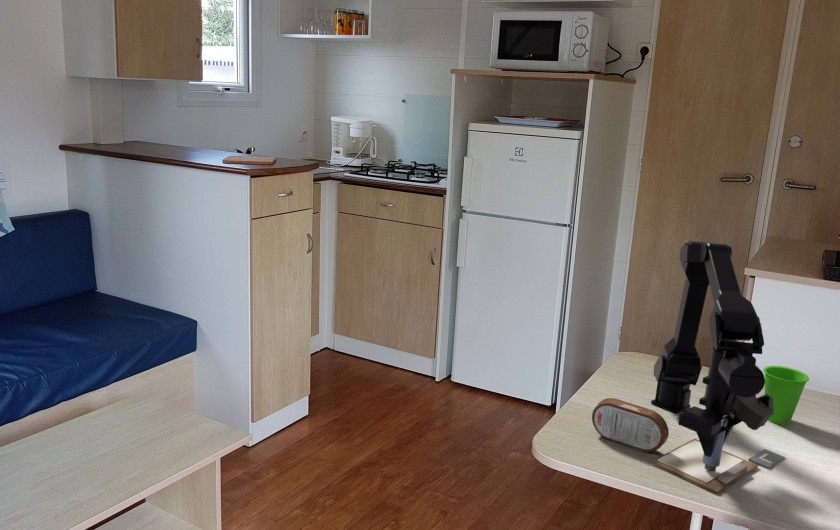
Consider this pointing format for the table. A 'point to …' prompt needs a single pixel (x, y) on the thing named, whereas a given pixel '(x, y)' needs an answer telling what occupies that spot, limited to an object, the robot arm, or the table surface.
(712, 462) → the cylinder
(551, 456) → the table surface
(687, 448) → the clipboard
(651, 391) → the table surface
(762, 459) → the letter tile
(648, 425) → the tin
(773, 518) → the table surface
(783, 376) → the cup
